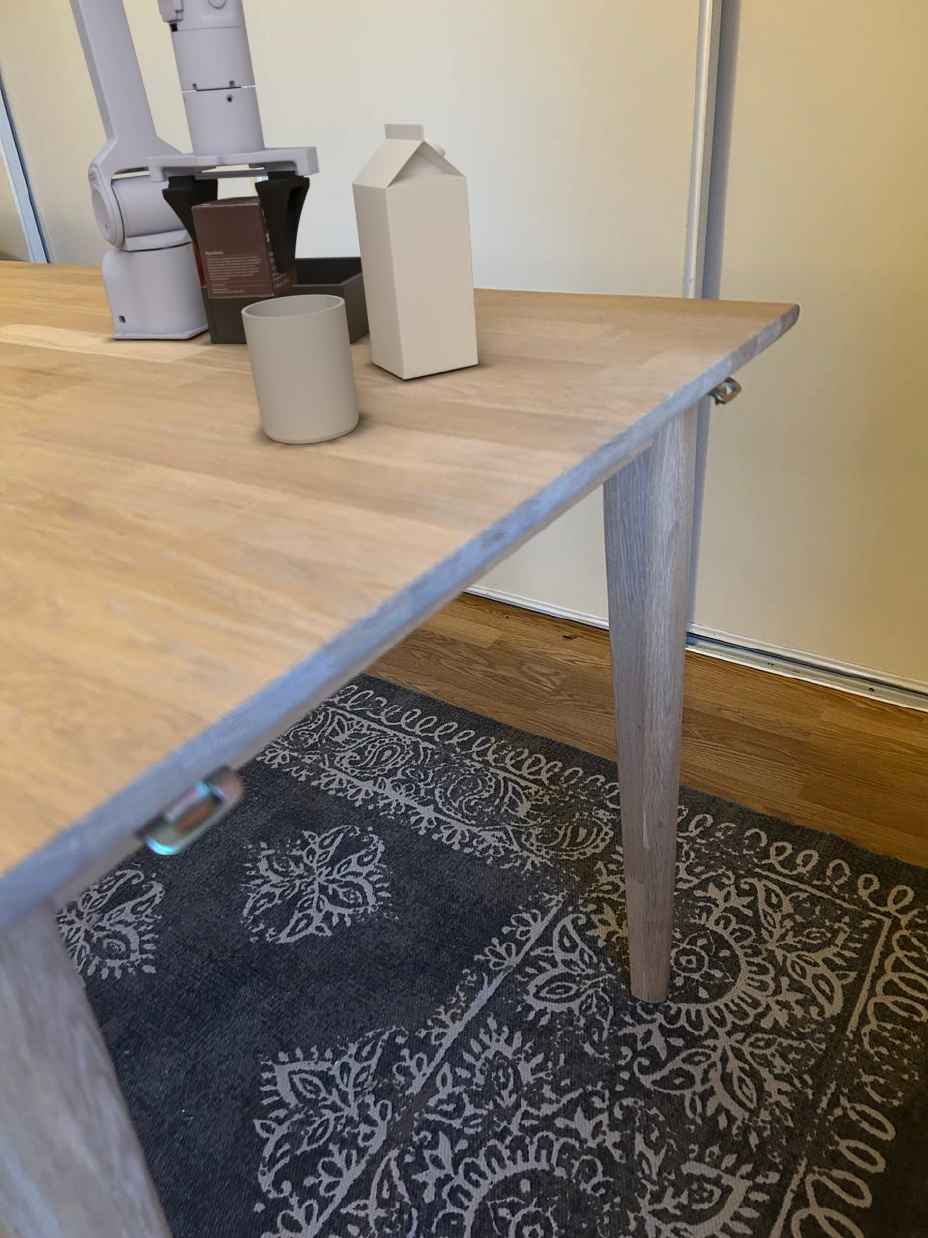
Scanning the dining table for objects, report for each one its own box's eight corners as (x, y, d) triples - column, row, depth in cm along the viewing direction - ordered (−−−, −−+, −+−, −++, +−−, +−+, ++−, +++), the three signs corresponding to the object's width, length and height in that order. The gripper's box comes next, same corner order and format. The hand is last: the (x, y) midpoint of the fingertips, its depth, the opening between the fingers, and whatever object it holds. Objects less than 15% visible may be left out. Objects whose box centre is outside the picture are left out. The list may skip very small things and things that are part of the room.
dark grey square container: (211, 343, 97) (199, 287, 94) (279, 308, 110) (271, 258, 107) (350, 343, 92) (343, 285, 90) (405, 307, 105) (400, 255, 102)
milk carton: (404, 381, 80) (379, 128, 70) (372, 364, 85) (344, 127, 76) (479, 366, 82) (464, 120, 73) (443, 350, 88) (424, 119, 78)
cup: (278, 452, 67) (255, 323, 62) (245, 415, 75) (222, 299, 70) (373, 431, 69) (358, 305, 64) (331, 398, 77) (315, 284, 72)
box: (273, 298, 78) (258, 202, 75) (207, 300, 80) (188, 206, 76) (299, 283, 84) (285, 193, 80) (236, 285, 85) (220, 196, 81)
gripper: (110, 97, 73) (151, 281, 80) (278, 84, 69) (306, 279, 75) (160, 93, 79) (195, 265, 85) (319, 81, 74) (342, 262, 81)
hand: (250, 271), depth 81 cm, fingers closed on box, 6 cm apart
